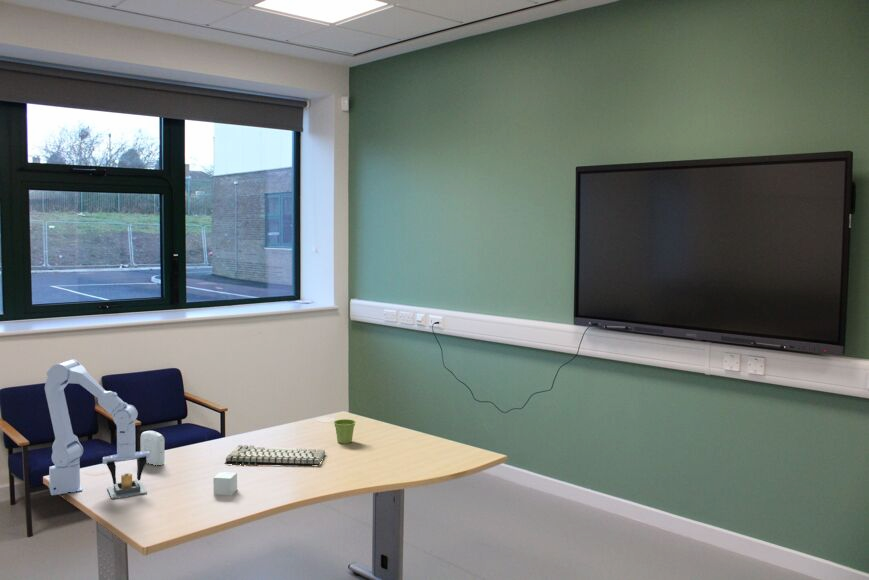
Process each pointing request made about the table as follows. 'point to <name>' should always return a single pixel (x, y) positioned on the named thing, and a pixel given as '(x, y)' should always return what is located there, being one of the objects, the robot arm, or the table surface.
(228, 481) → the white cube
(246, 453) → the mechanical keyboard
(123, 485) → the tan capped bottle
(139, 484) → the housing
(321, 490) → the table surface
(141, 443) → the white wifi router
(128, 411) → the robot arm
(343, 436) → the plant pot
